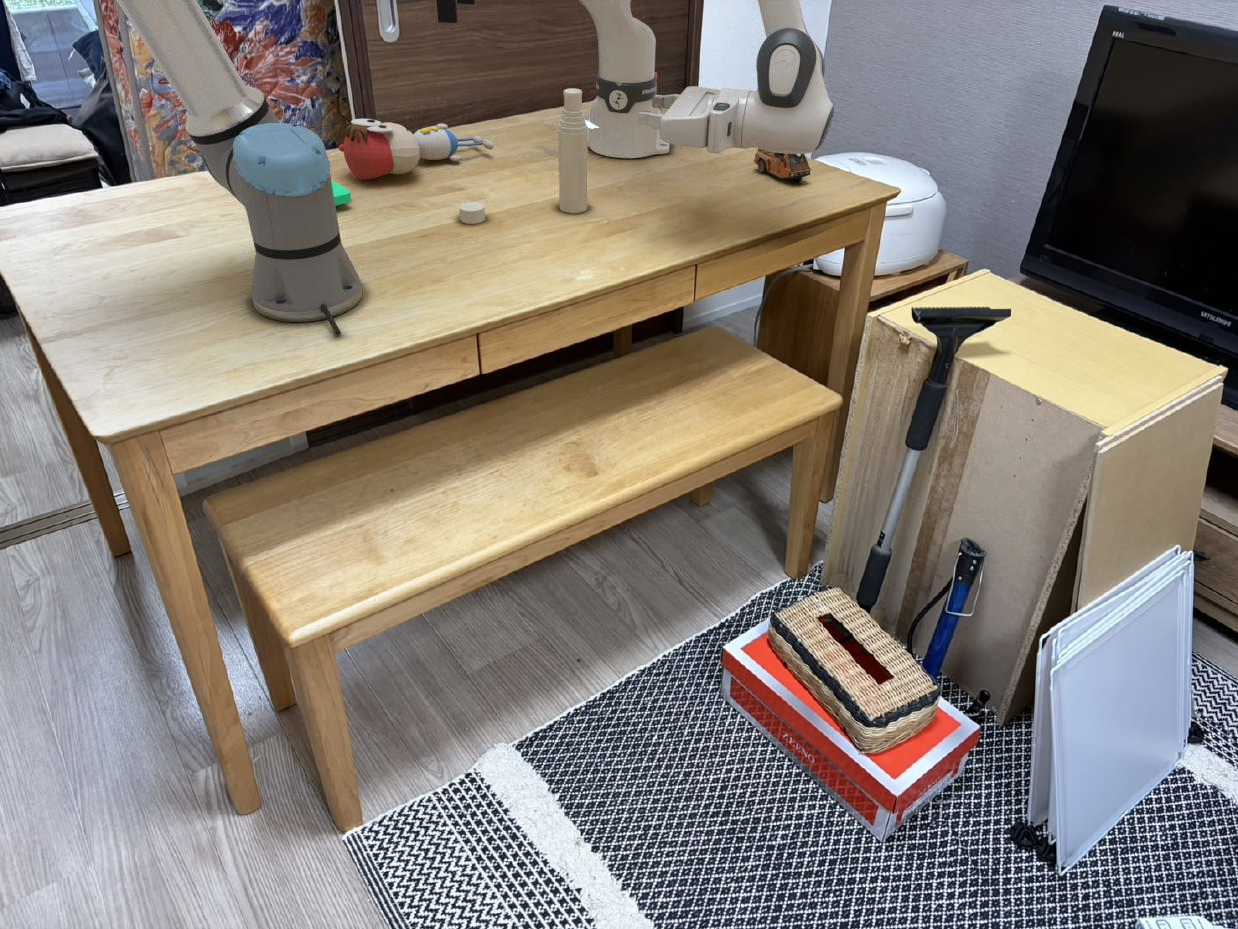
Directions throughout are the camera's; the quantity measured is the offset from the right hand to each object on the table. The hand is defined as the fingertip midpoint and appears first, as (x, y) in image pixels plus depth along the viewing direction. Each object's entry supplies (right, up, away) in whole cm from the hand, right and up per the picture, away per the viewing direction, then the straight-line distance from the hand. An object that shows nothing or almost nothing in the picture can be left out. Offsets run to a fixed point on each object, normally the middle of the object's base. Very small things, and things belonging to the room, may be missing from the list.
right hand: (645, 108), depth 152 cm
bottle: (-13, -12, +14) cm, 22 cm away
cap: (-30, -14, +7) cm, 34 cm away
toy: (-43, 0, +29) cm, 52 cm away
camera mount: (-58, -12, +12) cm, 60 cm away
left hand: (-29, +10, -11) cm, 33 cm away
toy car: (+27, -2, +29) cm, 40 cm away
